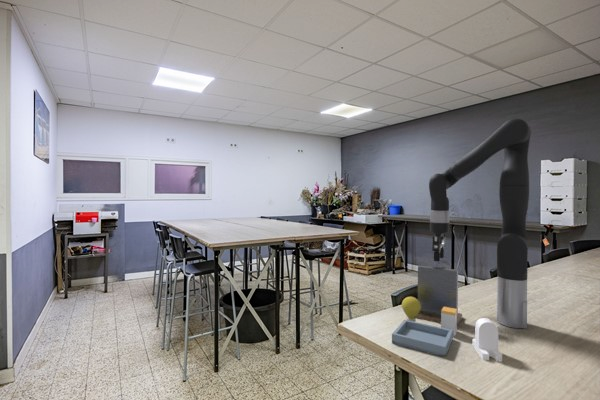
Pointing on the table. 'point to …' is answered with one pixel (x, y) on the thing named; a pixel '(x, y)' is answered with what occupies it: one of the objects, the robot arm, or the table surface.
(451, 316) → the cartridge
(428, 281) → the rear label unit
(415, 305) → the light bulb
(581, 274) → the table surface
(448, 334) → the tray
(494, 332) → the cable organizer
